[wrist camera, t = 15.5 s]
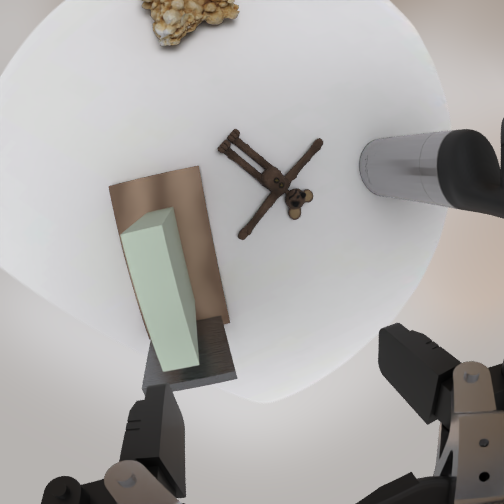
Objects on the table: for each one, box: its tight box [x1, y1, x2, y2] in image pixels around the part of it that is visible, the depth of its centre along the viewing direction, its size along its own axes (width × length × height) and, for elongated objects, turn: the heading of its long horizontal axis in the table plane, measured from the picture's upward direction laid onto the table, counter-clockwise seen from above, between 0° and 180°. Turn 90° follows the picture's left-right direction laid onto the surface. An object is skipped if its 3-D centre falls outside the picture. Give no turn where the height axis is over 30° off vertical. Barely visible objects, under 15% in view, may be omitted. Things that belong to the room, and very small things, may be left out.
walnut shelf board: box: [109, 166, 230, 339], centre depth 42 cm, size 12×22×2 cm, turn 10°
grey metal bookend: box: [142, 315, 237, 395], centre depth 37 cm, size 10×1×14 cm, turn 100°
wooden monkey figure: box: [218, 129, 323, 240], centre depth 41 cm, size 18×4×14 cm
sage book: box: [120, 207, 199, 372], centre depth 33 cm, size 4×13×16 cm, turn 10°
